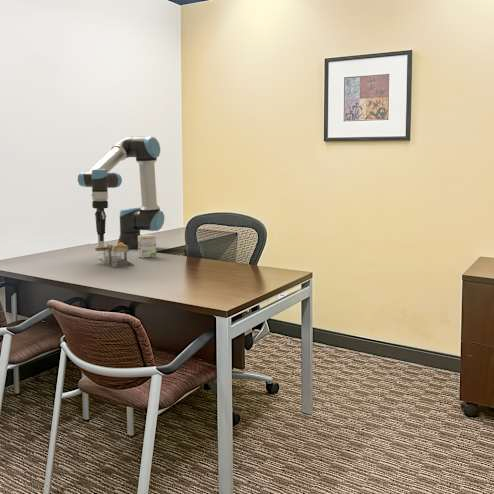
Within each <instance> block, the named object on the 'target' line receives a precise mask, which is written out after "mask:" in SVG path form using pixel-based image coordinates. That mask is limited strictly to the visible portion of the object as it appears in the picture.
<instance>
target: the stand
mask: <svg viewBox="0 0 494 494" xmlns="http://www.w3.org/2000/svg"><path fill="white" fill-rule="evenodd" d="M107 252H108V255H109V260H107V261H103V260H102V262H103V263H104V264H105V265H107V266H109V267H110V268H112V269H113V268H125V267H126V266H127V267H135V265H134V263H132V262H130V261H128V258H127V257H128V252H123V258H122V259H121V260H111V247H108V249H107ZM127 267H126V268H127Z"/></svg>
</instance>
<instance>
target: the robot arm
mask: <svg viewBox="0 0 494 494" xmlns="http://www.w3.org/2000/svg"><path fill="white" fill-rule="evenodd" d="M160 155H161V146H160V143H159V141H158V139H157V138H156V137H155V136H147V135H146V136H145V135H144V136H134V135H133V136H131V135H130V136H127V137H125V138H123V139H121V140H119V141H117V142H116V143H115V144H114V145H113V146H112V147H111V148H110V151H109V152H107V153H106V155H104V156H103V157H102V158H101V159H100V160H99V161H98V162H97V163H96V164H95V165H93V166H91V168H90V169H89V170H87V171H84V172H82V171H81V172H80V173H79V174H78V175H77V182H78V185H79V186H80V187H82V188H83V187H84V188H91V194H90V196H91V197H92V203H91V204H92V205H91V207H92V208H93V209H96V211H95V213H94V215H95V216H94V217H95V225H96V226H95V227H96V232H97V233H96V234H97V248H99V247H105V234H106V219H107V214H106V212H105V209H108V208H109V202H108V200H109V192H108V191H109V188H110V189H111V188H112V189H114V188H115V189H116V188H119V187H120V186H121V185H122V181H123V179H122V176H121V174H119V173H117V172H111V171H112V170H113V169H114V168H115V167H116V166H117V165H118V164H119V163H120V162H122V161H124V160H126V159H127V158H135V162H136V163H138V167H139V169H138V170H139V180H140V181H139V182H140V184H139V185H140V195H141V197H140V198H141V206H140V207H133V208H131V207H130V208H124V209H120V211H119V232H120V233H119V238H118V241H117V243H120V242H122V243H123V244H124V245H128V250H129V249H133V250H134V249H138V236H142V234H141V231H148V232H149V231H150V232H154V231H155V232H156V231H157V232H159V230H161V229H162V228H163V225H164V223H165V214H164V212H163V211H162V210H161V207H160V206H159V205H158V200H157V199H158V198H157V185H156V169H155V168H156V167H155V163H156V162H157V159H158V157H160Z"/></svg>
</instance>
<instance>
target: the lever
mask: <svg viewBox="0 0 494 494" xmlns="http://www.w3.org/2000/svg"><path fill="white" fill-rule="evenodd" d="M117 244H118V242H117ZM117 244H116V245H114V244H110V243H107V244H106V246H107V247H106V246H104V247H95V248H94V251H96V252H99V251H106V250H107V249H108V247H111V251H113V252H116V253H117V252H122V253H124V252H127V253H129V249H128V245H124V246H117Z"/></svg>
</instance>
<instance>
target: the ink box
mask: <svg viewBox="0 0 494 494" xmlns="http://www.w3.org/2000/svg"><path fill="white" fill-rule="evenodd" d="M156 239H157V236H156V235H154V234H146V235H141V236H138V248H137V257H138V256H139V257H152V258H155V257H154V256H156V257H157V249H156V248H157V243H156V242H157V240H156ZM139 257H138V258H139Z"/></svg>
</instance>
